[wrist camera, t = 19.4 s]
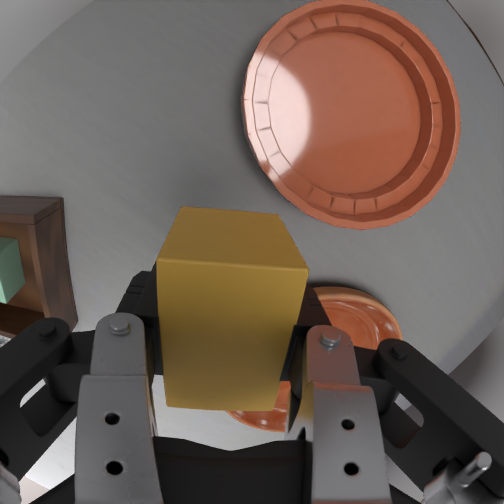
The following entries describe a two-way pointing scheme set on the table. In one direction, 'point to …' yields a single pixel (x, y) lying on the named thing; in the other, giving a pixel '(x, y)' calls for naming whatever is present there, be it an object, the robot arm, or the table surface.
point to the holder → (37, 263)
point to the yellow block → (227, 308)
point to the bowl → (351, 113)
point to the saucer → (347, 319)
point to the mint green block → (10, 269)
